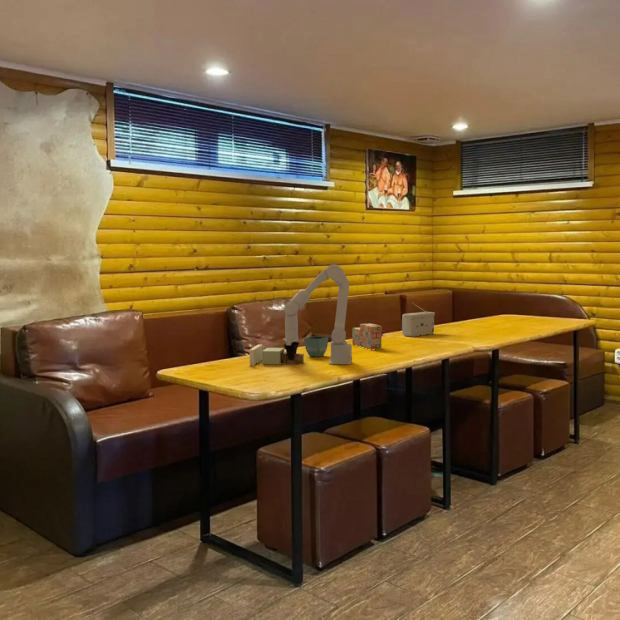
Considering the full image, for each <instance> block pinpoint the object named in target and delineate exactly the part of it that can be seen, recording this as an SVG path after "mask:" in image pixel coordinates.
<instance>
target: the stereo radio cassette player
mask: <svg viewBox="0 0 620 620" xmlns="http://www.w3.org/2000/svg"><path fill="white" fill-rule="evenodd" d="M411 303H412V304H414V306H416V307H417V308H419V309H420V310H422V311H420V312H410V313H403V314H402V318H401V331H402V332H401V333H402V335H403V336H404V337H410V336H411V338H413V337H420V335H421V336H426V334H429V335H433V334H435V315H436V312H435V311H434V312H433V311H426V310H425V309H423V308H421V307H419V305H416V304H415V303H414V302H411ZM432 333H433V334H432Z"/></svg>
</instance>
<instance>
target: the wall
mask: <svg viewBox="0 0 620 620" xmlns="http://www.w3.org/2000/svg"><path fill="white" fill-rule="evenodd" d="M262 351H263V344H257V345H255V346H253V347H252V348H250V349H249V366H256V365H257V364H258V363H260V362H262ZM259 361H260V362H259ZM256 363H257V364H256ZM255 364H256V365H255Z"/></svg>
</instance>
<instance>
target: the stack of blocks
mask: <svg viewBox="0 0 620 620" xmlns="http://www.w3.org/2000/svg"><path fill="white" fill-rule="evenodd" d="M382 328H383V326H382V325H379V324H375V323H359V327H352V328H351V333H352V336H351V337H352V343H351V345H353V344H354V345H353V346H355V345H357V346H356V347H358V346H361V347H364V348H363V349H365V348H367V349H366V350H368V349H371V350H370V351H373V350H372V349H381V350H382V345H383V344H382V336H383V335H382V333H383V332H382V331H383V330H382ZM361 347H360V348H361Z"/></svg>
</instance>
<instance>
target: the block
mask: <svg viewBox="0 0 620 620" xmlns="http://www.w3.org/2000/svg"><path fill="white" fill-rule="evenodd" d="M281 353H285V347H266V348H265V349H262V360H261V362H262V363H261V364H262V365H281Z"/></svg>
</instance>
